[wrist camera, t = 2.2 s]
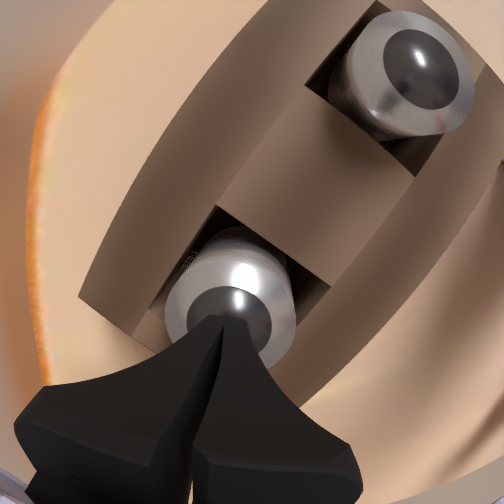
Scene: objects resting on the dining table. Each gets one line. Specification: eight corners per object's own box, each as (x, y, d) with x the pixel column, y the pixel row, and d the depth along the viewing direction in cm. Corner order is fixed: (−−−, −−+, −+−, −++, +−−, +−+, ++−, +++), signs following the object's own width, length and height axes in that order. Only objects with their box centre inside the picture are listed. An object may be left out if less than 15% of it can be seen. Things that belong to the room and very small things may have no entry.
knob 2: (427, 96, 14) (491, 76, 8) (383, 160, 15) (441, 162, 9) (359, 38, 13) (398, -12, 7) (309, 100, 14) (331, 66, 9)
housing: (468, 119, 16) (524, 112, 10) (279, 363, 21) (281, 423, 16) (316, -7, 14) (332, -58, 8) (123, 260, 20) (77, 296, 14)
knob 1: (306, 261, 17) (324, 314, 11) (252, 326, 18) (245, 396, 12) (230, 207, 16) (208, 234, 10) (181, 279, 18) (143, 334, 12)
